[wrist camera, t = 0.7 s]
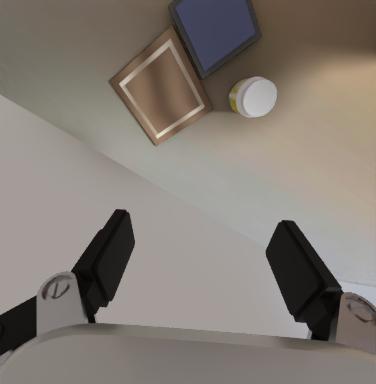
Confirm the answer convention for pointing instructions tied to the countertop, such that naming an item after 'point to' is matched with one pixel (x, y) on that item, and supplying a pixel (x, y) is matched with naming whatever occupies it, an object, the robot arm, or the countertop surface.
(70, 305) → the robot arm
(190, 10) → the ink pad
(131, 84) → the marked board
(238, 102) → the supplement bottle
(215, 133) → the countertop surface
